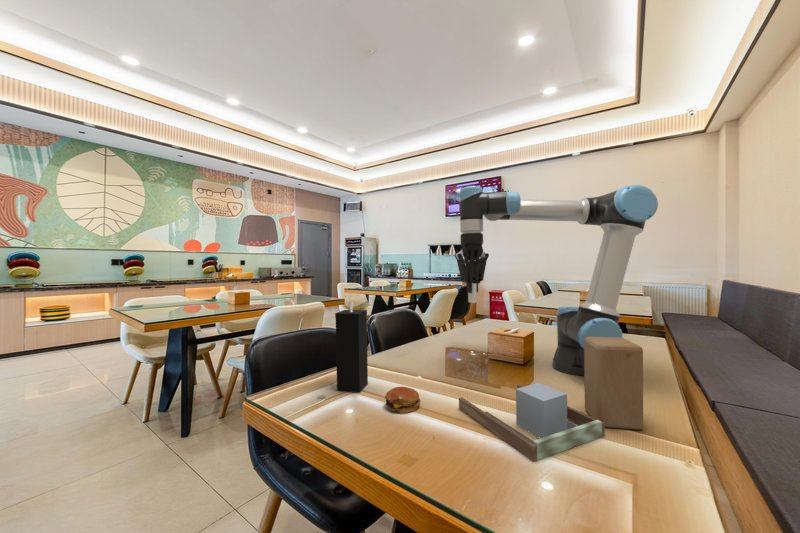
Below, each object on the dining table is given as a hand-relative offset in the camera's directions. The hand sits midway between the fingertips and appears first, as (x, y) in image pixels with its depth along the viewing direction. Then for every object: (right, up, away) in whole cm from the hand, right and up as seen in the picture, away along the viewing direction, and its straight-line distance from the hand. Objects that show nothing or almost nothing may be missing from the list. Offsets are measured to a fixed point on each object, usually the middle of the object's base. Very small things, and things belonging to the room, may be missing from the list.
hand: (472, 302), depth 110 cm
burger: (-24, -28, -19) cm, 41 cm away
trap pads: (+7, -27, -28) cm, 40 cm away
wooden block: (+29, -27, -28) cm, 48 cm away
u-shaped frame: (+7, -27, -28) cm, 40 cm away
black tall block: (-40, -27, -5) cm, 49 cm away
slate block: (+9, -27, -32) cm, 43 cm away
